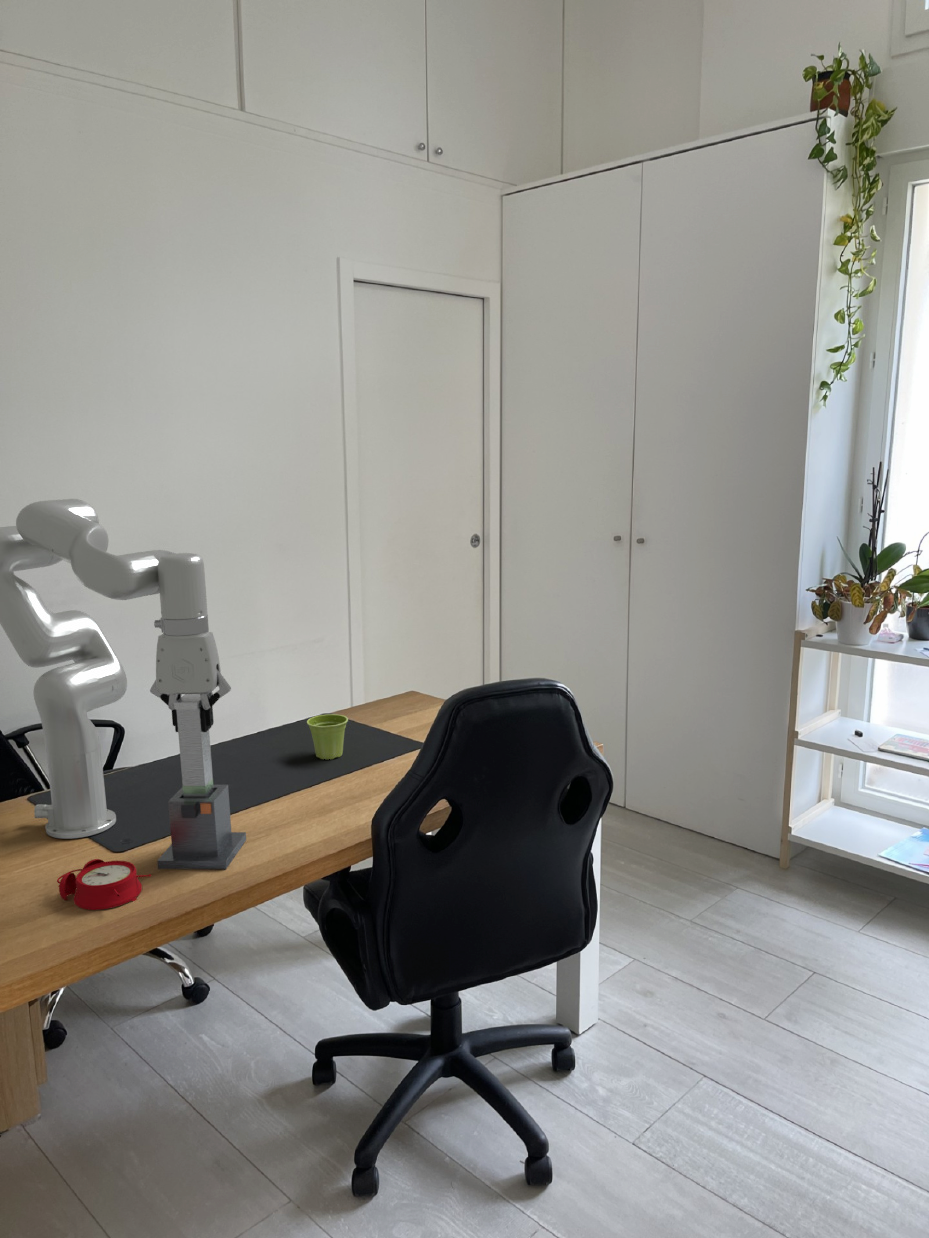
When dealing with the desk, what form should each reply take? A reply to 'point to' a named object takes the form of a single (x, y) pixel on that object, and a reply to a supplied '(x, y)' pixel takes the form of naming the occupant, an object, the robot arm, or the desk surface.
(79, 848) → the desk surface
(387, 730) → the desk surface
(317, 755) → the plant pot
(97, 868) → the alarm clock
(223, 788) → the stand base
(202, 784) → the column
